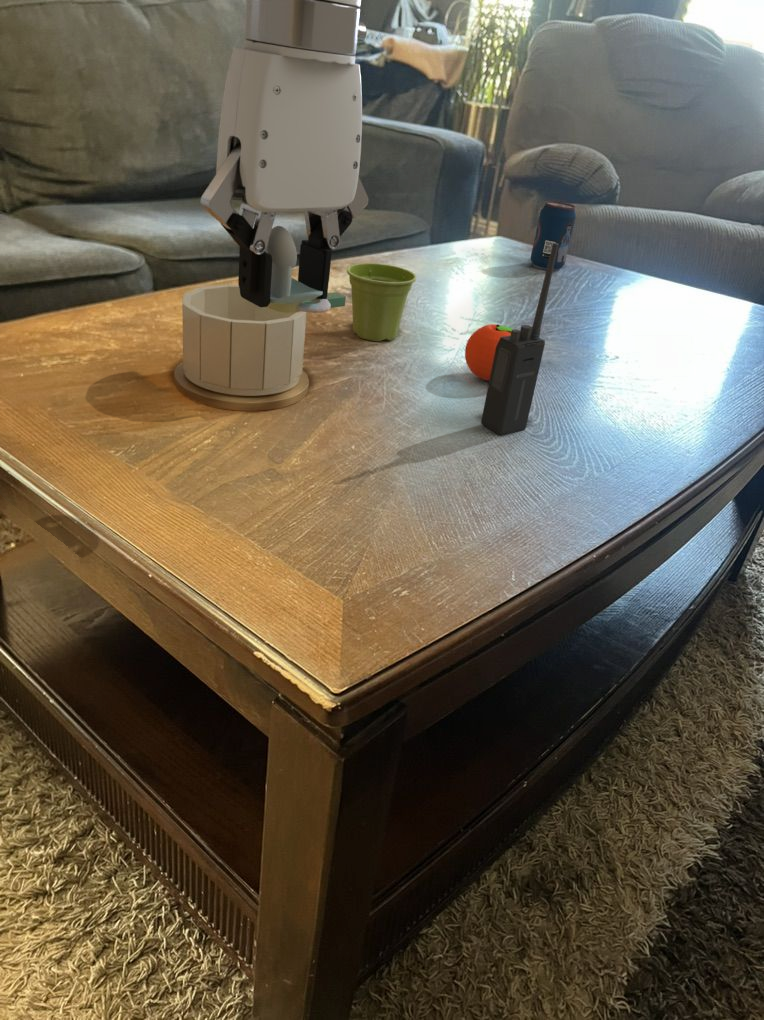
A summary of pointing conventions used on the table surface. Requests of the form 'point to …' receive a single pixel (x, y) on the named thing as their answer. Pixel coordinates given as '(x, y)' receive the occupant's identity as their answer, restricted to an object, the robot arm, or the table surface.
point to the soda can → (553, 234)
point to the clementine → (484, 349)
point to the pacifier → (289, 278)
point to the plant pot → (378, 299)
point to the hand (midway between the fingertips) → (284, 296)
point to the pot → (242, 342)
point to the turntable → (237, 400)
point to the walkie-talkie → (516, 370)
